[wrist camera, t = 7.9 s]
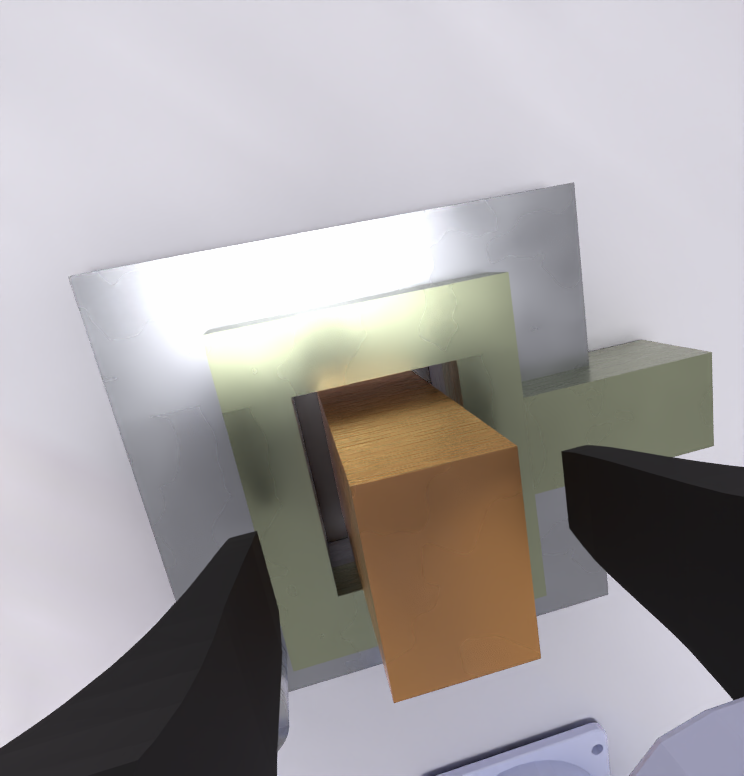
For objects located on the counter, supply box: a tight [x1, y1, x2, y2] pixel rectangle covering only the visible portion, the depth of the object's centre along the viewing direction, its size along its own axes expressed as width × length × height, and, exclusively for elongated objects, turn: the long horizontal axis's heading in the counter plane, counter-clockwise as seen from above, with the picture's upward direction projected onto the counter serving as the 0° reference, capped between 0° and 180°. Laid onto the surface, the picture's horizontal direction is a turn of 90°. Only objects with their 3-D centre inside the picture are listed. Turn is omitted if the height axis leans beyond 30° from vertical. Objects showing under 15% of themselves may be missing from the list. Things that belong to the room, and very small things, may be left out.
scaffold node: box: [68, 183, 714, 751], centre depth 15 cm, size 14×17×4 cm
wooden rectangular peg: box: [317, 370, 541, 703], centre depth 13 cm, size 4×3×8 cm, turn 10°
